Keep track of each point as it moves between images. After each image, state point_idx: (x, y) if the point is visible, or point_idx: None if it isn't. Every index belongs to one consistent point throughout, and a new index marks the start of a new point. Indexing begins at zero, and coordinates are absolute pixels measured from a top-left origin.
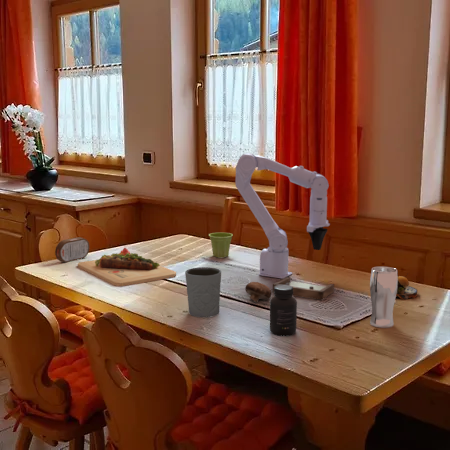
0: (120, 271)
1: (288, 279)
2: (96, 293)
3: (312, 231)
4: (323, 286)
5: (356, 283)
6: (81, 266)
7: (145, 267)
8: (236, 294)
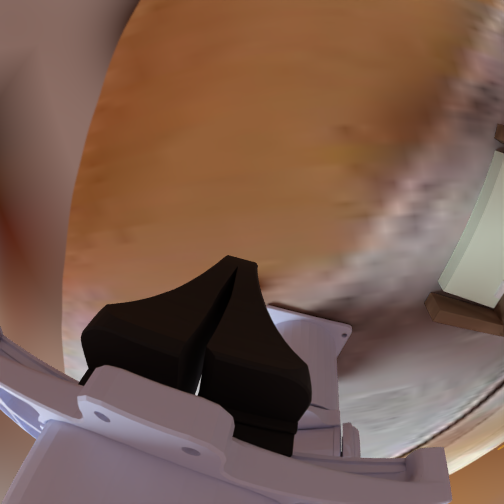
0: None
1: (448, 309)
2: None
3: (442, 452)
4: (501, 169)
5: (344, 13)
6: None
7: None
8: (490, 379)
